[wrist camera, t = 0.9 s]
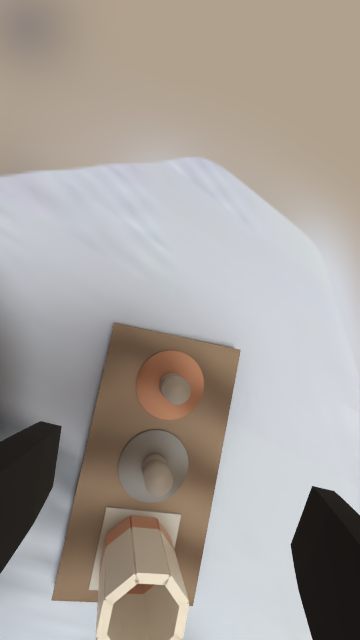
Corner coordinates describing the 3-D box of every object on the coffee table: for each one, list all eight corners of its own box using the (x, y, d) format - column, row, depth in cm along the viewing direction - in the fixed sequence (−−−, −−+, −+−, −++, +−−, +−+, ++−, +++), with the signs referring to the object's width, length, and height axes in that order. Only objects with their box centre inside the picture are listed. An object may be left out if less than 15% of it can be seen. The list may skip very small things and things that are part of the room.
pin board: (188, 590, 26) (203, 641, 22) (55, 584, 24) (42, 639, 20) (234, 349, 28) (256, 351, 24) (114, 323, 26) (114, 320, 22)
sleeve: (161, 587, 24) (177, 667, 19) (95, 584, 23) (89, 667, 18) (175, 519, 25) (194, 576, 19) (110, 513, 24) (109, 571, 18)
